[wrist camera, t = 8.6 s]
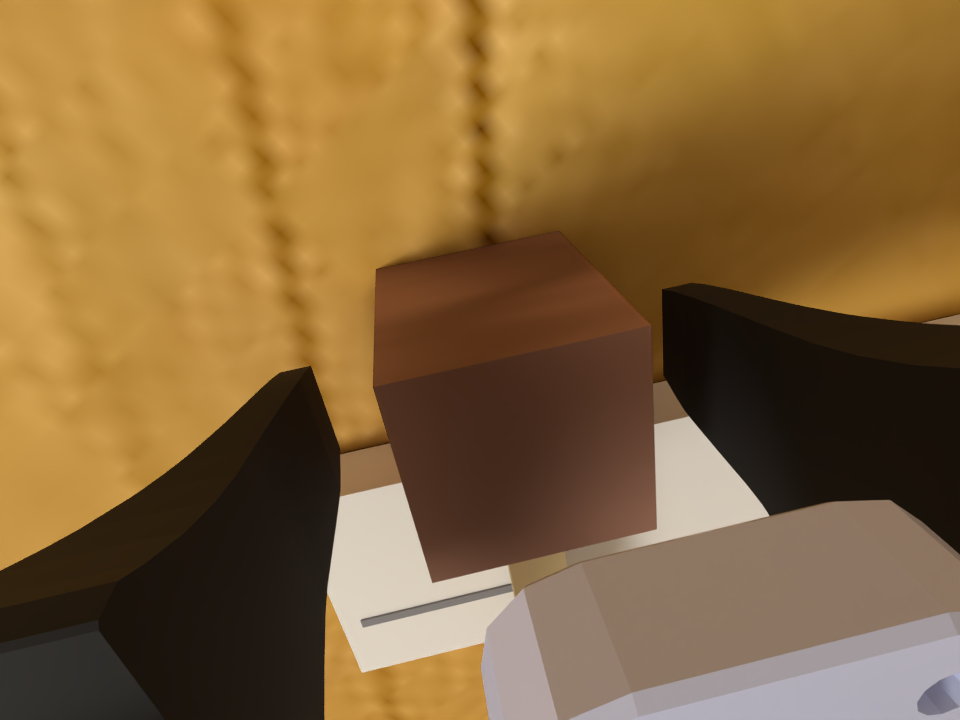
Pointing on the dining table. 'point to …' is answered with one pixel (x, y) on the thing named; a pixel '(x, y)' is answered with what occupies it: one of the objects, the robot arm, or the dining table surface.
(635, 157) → the dining table surface
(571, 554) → the board
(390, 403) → the chocolate popsicle
